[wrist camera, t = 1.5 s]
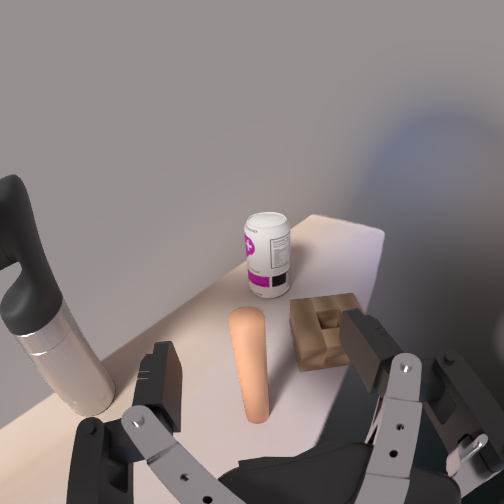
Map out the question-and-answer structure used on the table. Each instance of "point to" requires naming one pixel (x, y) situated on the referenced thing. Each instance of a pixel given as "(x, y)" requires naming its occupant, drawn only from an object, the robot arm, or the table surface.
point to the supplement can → (268, 254)
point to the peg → (251, 360)
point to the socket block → (319, 330)
